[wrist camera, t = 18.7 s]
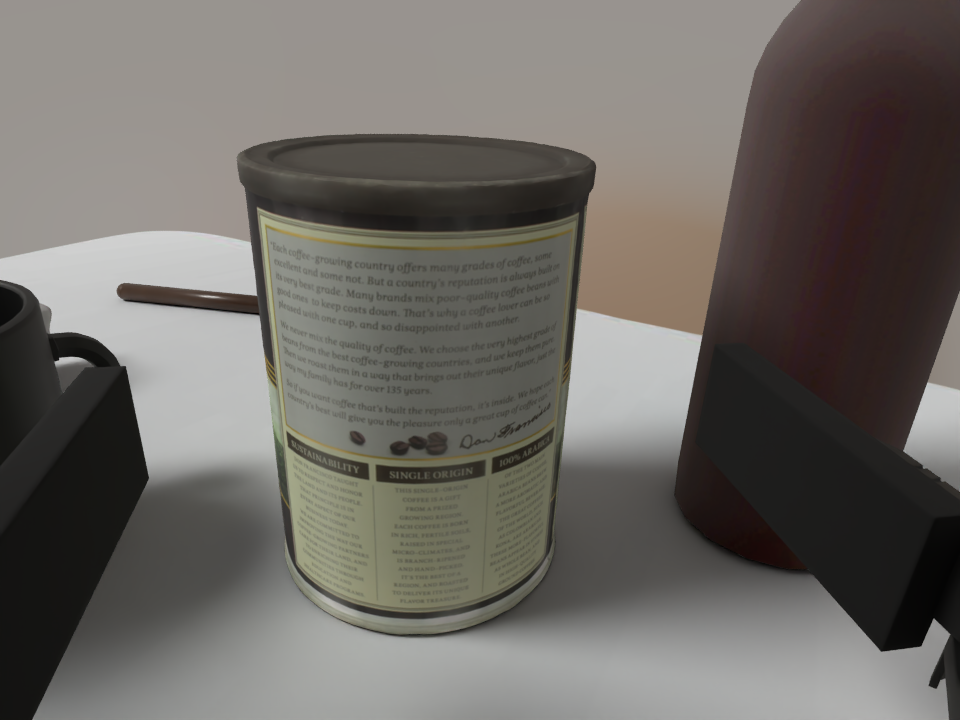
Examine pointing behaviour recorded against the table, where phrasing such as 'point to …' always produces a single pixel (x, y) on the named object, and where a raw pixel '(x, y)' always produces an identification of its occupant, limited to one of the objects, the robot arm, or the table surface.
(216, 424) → the table surface
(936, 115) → the beer bottle
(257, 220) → the coffee can
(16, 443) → the mug
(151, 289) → the wooden spoon
